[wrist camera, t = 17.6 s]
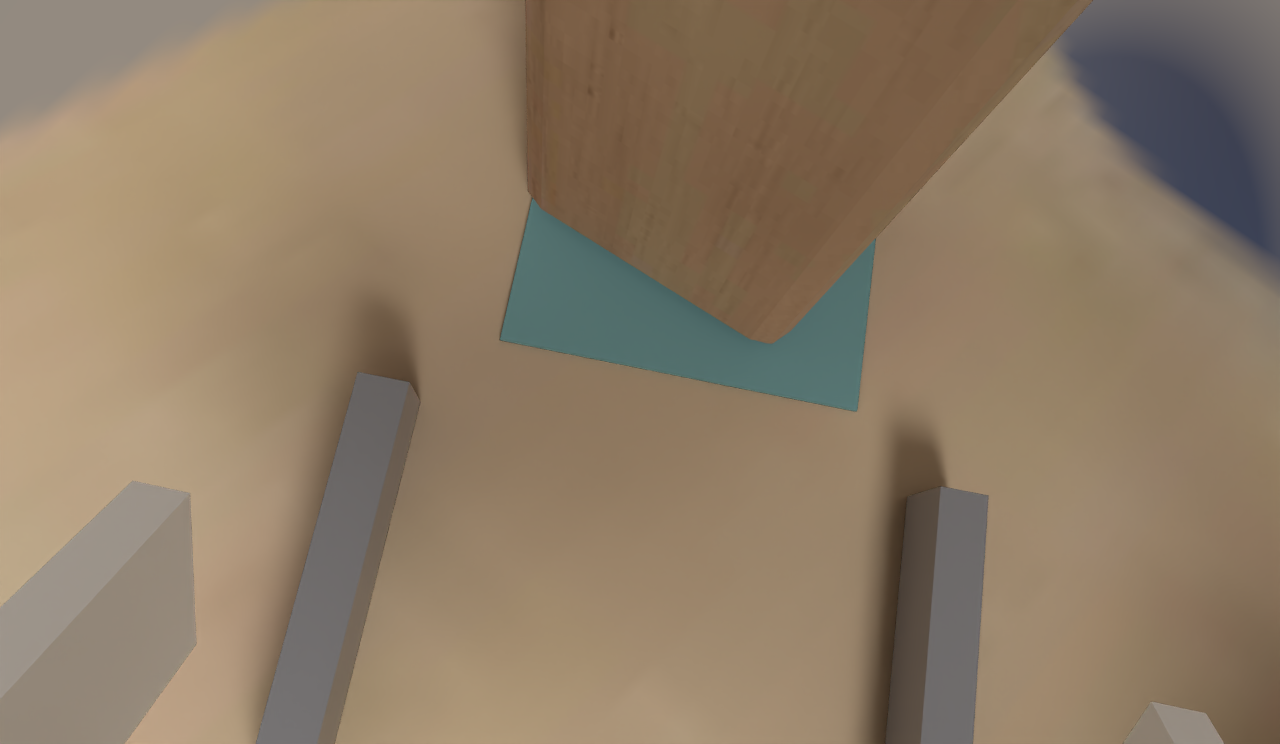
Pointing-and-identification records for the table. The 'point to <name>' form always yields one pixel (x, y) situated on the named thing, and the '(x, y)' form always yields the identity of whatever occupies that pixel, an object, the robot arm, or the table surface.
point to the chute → (357, 529)
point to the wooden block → (760, 130)
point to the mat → (679, 322)
